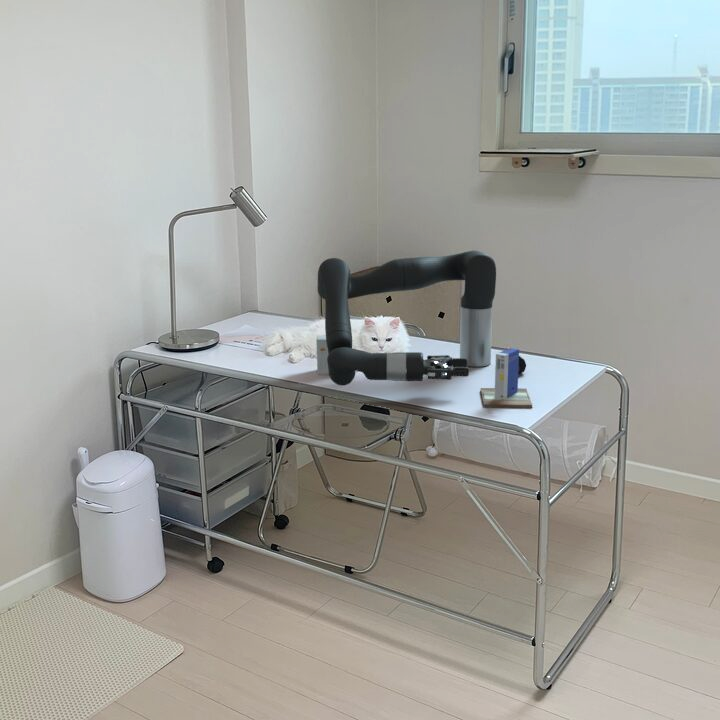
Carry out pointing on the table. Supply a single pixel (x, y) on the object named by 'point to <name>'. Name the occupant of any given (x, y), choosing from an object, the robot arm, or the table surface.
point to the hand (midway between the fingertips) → (467, 367)
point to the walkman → (506, 373)
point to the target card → (513, 401)
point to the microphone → (521, 365)
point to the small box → (322, 355)
